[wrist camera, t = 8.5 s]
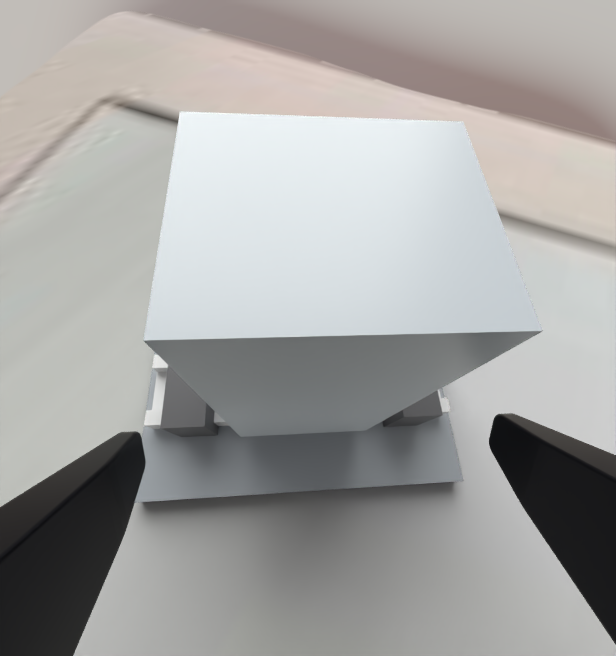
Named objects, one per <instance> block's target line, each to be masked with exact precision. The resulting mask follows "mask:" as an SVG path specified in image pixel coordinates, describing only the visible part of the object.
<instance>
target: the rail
mask: <svg viewBox="0 0 616 656" xmlns="http://www.w3.org/2000/svg"><path fill="white" fill-rule="evenodd" d="M448 412H451V410H450V406H449V401H448V398H444V393H443V389H442V388H440V389H439V390H437V391H435V392H433V393H432V394H430V395H428V396H426V397H424V398H423V399H421V400H419V401H417V402H416V403H414V404H412V405H410V406H408V407H407V408H405V409H403V410H401V411H400V412H398V413H396V414H394V415H392V416H391V417H389V418H387V419H385V420H384V421H382V422H380V423H378V424H376V425H375V426H373V427H371V428H369V429H368V430H366V431H348V432H328V433H308V434H288V435H268V436H249V437H240V436H239V435H238V434H237V433H236V432H235V431H234V430H233V429H232V428H231V427H230V426H229V425H228V424H227V423H226V422H225V421H224V420H223V419H222V418H221V417H220V416H219V415H218V414H217V413H216V412H215V411H214V410H213V409H212V408H211V407H210V406H209V405H208V404H207V403H206V402H205V401H204V400H203V399H202V398H201V397H200V396H199V395H198V394H197V393H196V392H195V391H194V390H193V389H192V388H191V387H190V386H189V385H188V384H187V383H186V382H185V381H184V380H183V379H182V378H181V377H180V376H179V375H178V374H177V373H176V372H175V371H174V370H173V369H172V368H171V367H170V366H169V365H168V364H167V363H166V362H165V361H164V360H163V359H162V358H161V357H160V356H159V355H158V354H157V353H156V352H155V353H154V359H153V366H152V374H151V381H150V388H149V395H148V401H147V408H146V415H145V422H144V429H143V436H142V443H143V449H144V454H145V459H146V465H145V470H144V474H143V477H142V480H141V483H140V486H139V490H138V493H137V496H136V499H135V502H151V501H166V500H181V499H196V498H212V497H227V496H242V495H257V494H273V493H288V492H303V491H318V490H334V489H349V488H364V487H379V486H395V485H410V484H425V483H440V482H456V481H463V477H462V473H461V468H460V464H459V460H458V455H457V451H456V446H455V442H454V437H453V433H452V429H451V424H450V420H449V415H448Z"/></svg>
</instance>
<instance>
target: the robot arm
mask: <svg viewBox="0 0 616 656" xmlns="http://www.w3.org/2000/svg"><path fill="white" fill-rule="evenodd" d="M489 445H490V449H491V451H492V453H493V455H494V456H495V458H496V460H497V462H498V464H499V465H500V467H501V469H502V471H503V473H504V474H505V476H506V478H507V480H508V482H509V483H510V485H511V487H512V489H513V491H514V492H515V494H516V496H517V498H518V499H519V501H520V503H521V505H522V506H523V508H524V509H525V511H526V512H527V514H528V515H529V517H530V518H531V520H532V521H533V523H534V524H535V526H536V527H537V529H538V530H539V532H540V533H541V535H542V536H543V538H544V539H545V541H546V542H547V544H548V545H549V546H550V548H551V549H552V551H553V552H554V554H555V555H556V557H557V558H558V560H559V561H560V563H561V564H562V566H563V567H564V569H565V570H566V572H567V573H568V575H569V576H570V578H571V579H572V581H573V582H574V584H575V585H576V586H577V588H578V589H579V591H580V592H581V594H582V595H583V597H584V598H585V600H586V601H587V603H588V604H589V606H590V607H591V609H592V610H593V612H594V613H595V615H596V616H597V618H598V619H599V621H600V622H601V624H602V625H603V626H604V628H605V629H606V631H607V632H608V634H609V635H610V637H611V638H612V640H613V641H614V643H615V644H616V455H614V454H611V453H609V452H606V451H604V450H601V449H599V448H596V447H594V446H592V445H589V444H587V443H584V442H582V441H579V440H577V439H574V438H572V437H569V436H567V435H565V434H562V433H560V432H557V431H555V430H552V429H550V428H547V427H545V426H542V425H540V424H538V423H535V422H533V421H530V420H528V419H525V418H523V417H520V416H518V415H515V414H511V413H510V414H498V415H496V416H495V418H494V421H493V425H492V429H491V434H490V438H489ZM145 465H146V459H145V454H144V449H143V443H142V438H141V435H140V433H138V432H121V433H118V434H117V435H115V436H114V437H112V438H110V439H109V440H107V441H106V442H104V443H102V444H101V445H99V446H98V447H96V448H94V449H93V450H91V451H90V452H88V453H86V454H85V455H83V456H82V457H80V458H78V459H77V460H75V461H73V462H72V463H70V464H69V465H67V466H65V467H64V468H62V469H61V470H59V471H57V472H56V473H54V474H53V475H51V476H49V477H48V478H46V479H45V480H43V481H41V482H40V483H38V484H37V485H35V486H33V487H32V488H30V489H29V490H27V491H25V492H24V493H22V494H21V495H19V496H17V497H16V498H14V499H12V500H11V501H9V502H8V503H6V504H4V505H3V506H1V507H0V656H73V655H74V652H75V650H76V648H77V645H78V643H79V640H80V638H81V636H82V633H83V631H84V629H85V626H86V624H87V622H88V619H89V617H90V615H91V612H92V610H93V608H94V605H95V603H96V601H97V598H98V596H99V593H100V591H101V589H102V586H103V584H104V582H105V579H106V577H107V575H108V572H109V570H110V568H111V565H112V563H113V561H114V558H115V556H116V554H117V551H118V549H119V546H120V544H121V542H122V539H123V536H124V534H125V531H126V528H127V525H128V522H129V519H130V516H131V512H132V509H133V506H134V503H135V499H136V496H137V493H138V490H139V486H140V483H141V480H142V477H143V474H144V470H145Z"/></svg>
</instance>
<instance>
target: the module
mask: <svg viewBox="0 0 616 656" xmlns="http://www.w3.org/2000/svg"><path fill="white" fill-rule="evenodd" d="M542 331H543V330H542V327H541V324H540V322H539V319H538V316H537V314H536V311H535V309H534V306H533V303H532V301H531V298H530V296H529V293H528V290H527V288H526V285H525V282H524V280H523V277H522V275H521V272H520V269H519V267H518V264H517V261H516V259H515V256H514V254H513V251H512V248H511V246H510V243H509V240H508V238H507V235H506V233H505V230H504V227H503V225H502V222H501V219H500V217H499V214H498V212H497V209H496V206H495V204H494V201H493V199H492V196H491V193H490V191H489V188H488V185H487V183H486V180H485V178H484V175H483V172H482V170H481V167H480V164H479V162H478V159H477V157H476V154H475V151H474V149H473V146H472V143H471V141H470V138H469V136H468V133H467V130H466V128H465V125H464V123H463V122H460V121H432V120H404V119H376V118H348V117H320V116H292V115H265V114H237V113H209V112H181V111H180V115H179V121H178V128H177V134H176V140H175V146H174V153H173V159H172V165H171V171H170V178H169V184H168V190H167V196H166V203H165V209H164V215H163V221H162V228H161V234H160V240H159V246H158V253H157V259H156V265H155V271H154V278H153V284H152V290H151V296H150V303H149V309H148V315H147V321H146V328H145V334H144V340H143V341H144V342H145V343H146V344H147V345H148V346H149V347H150V348H151V349H152V350H154V351H155V352H156V353H157V354H158V355H159V356H160V357H161V358H162V359H163V360H164V361H165V362H166V363H167V364H168V365H169V366H170V367H171V368H172V369H173V370H174V371H175V372H176V373H177V374H178V375H179V376H180V377H181V378H182V379H183V380H184V381H185V382H186V383H187V384H188V385H189V386H190V387H191V388H192V389H193V390H194V391H195V392H196V393H197V394H198V395H199V396H200V397H201V398H202V399H203V400H204V401H205V402H206V403H207V404H208V405H209V406H210V407H211V408H212V409H213V410H214V411H215V412H216V413H217V414H218V415H219V416H220V417H221V418H222V419H223V420H224V421H225V422H226V423H227V424H228V425H229V426H230V427H231V428H232V429H233V430H234V431H235V432H236V433H237V434H238V435H239V436H240V437H249V436H268V435H288V434H308V433H328V432H348V431H366V430H368V429H369V428H371V427H373V426H375V425H376V424H378V423H380V422H382V421H384V420H385V419H387V418H389V417H391V416H392V415H394V414H396V413H398V412H400V411H401V410H403V409H405V408H407V407H408V406H410V405H412V404H414V403H416V402H417V401H419V400H421V399H423V398H424V397H426V396H428V395H430V394H432V393H433V392H435V391H437V390H439V389H440V388H442V387H444V386H446V385H448V384H449V383H451V382H453V381H455V380H457V379H458V378H460V377H462V376H464V375H465V374H467V373H469V372H471V371H473V370H474V369H476V368H478V367H480V366H481V365H483V364H485V363H487V362H489V361H490V360H492V359H494V358H496V357H497V356H499V355H501V354H503V353H505V352H506V351H508V350H510V349H512V348H513V347H515V346H517V345H519V344H521V343H522V342H524V341H526V340H528V339H529V338H531V337H533V336H535V335H537V334H538V333H540V332H542Z"/></svg>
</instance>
